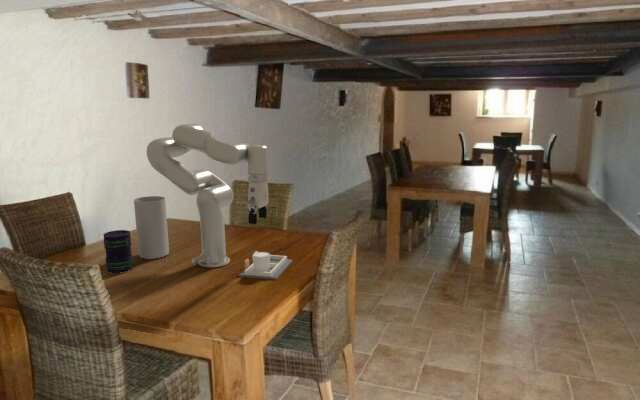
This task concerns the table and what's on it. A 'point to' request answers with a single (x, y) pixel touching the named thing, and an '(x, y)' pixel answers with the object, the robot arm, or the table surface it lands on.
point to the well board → (275, 268)
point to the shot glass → (261, 261)
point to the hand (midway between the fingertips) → (257, 220)
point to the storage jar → (118, 251)
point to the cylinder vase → (151, 227)
